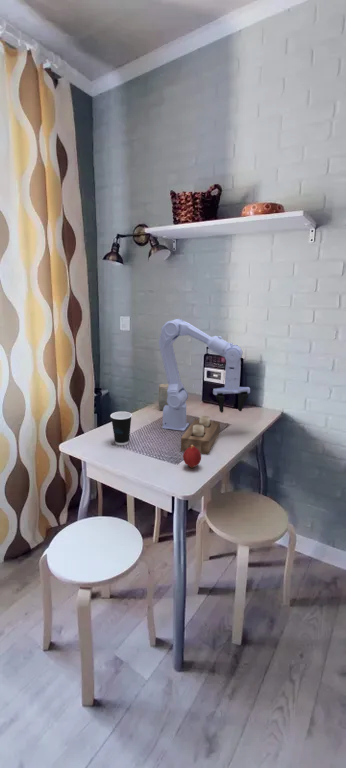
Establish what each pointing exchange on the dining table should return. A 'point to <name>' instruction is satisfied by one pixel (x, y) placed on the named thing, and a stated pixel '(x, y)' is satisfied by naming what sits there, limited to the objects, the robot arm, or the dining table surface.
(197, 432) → the peg front
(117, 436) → the dixie cup
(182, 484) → the dining table surface
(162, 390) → the carving
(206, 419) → the peg back
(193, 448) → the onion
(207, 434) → the walnut block
